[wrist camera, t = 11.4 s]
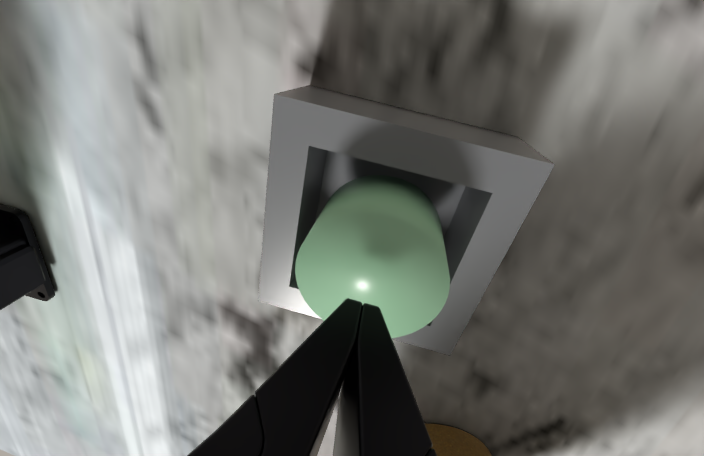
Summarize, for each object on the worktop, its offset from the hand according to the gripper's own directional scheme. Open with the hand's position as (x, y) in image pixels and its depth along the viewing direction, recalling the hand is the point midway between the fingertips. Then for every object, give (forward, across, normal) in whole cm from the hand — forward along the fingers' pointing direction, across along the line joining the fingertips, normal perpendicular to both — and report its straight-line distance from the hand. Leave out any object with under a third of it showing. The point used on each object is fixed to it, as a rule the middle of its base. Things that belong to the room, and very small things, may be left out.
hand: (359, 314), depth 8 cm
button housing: (+7, 0, 0) cm, 7 cm away
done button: (+4, 0, 0) cm, 4 cm away
